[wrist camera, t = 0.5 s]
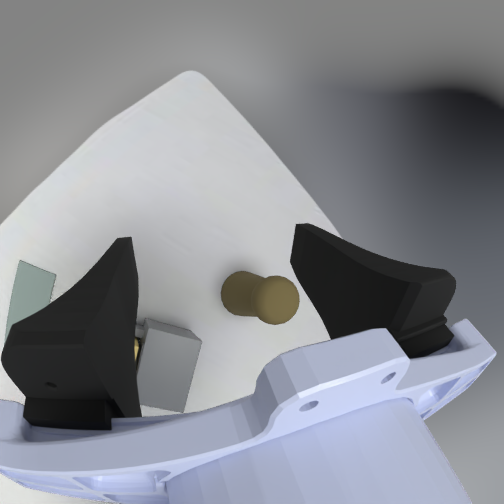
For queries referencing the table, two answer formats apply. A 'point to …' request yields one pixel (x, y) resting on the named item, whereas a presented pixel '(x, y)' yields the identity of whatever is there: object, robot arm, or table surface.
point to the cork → (260, 297)
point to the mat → (29, 293)
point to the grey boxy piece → (165, 364)
